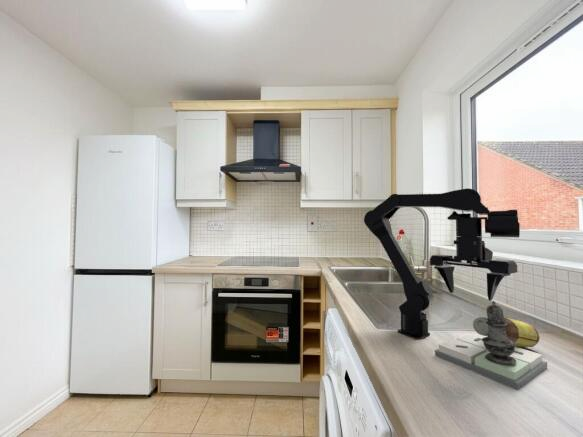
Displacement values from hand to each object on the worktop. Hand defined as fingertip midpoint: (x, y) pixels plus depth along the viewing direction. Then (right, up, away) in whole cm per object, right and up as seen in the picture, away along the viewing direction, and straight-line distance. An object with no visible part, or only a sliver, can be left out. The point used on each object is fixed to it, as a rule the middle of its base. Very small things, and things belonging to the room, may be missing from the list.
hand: (470, 296), depth 70 cm
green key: (-2, -13, -14) cm, 19 cm away
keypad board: (-1, -13, -8) cm, 15 cm away
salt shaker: (-2, -10, -13) cm, 17 cm away
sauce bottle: (+15, -11, 0) cm, 18 cm away
